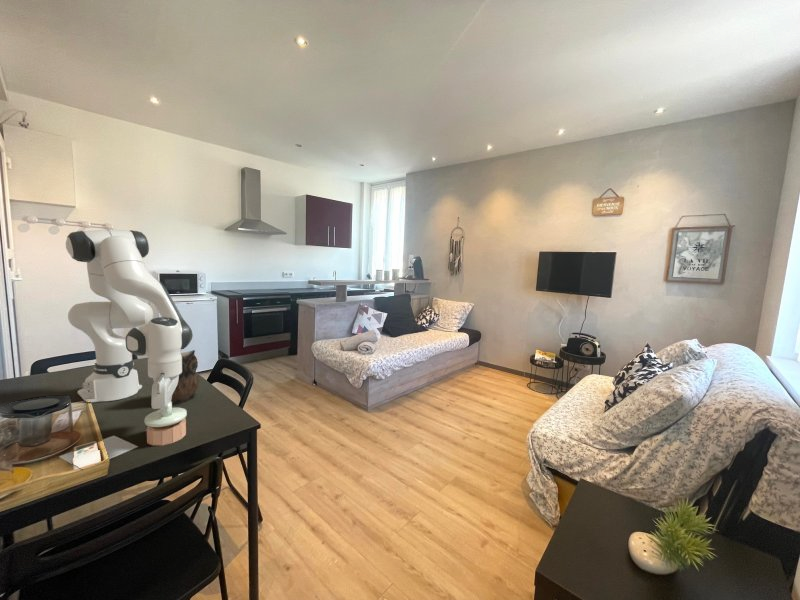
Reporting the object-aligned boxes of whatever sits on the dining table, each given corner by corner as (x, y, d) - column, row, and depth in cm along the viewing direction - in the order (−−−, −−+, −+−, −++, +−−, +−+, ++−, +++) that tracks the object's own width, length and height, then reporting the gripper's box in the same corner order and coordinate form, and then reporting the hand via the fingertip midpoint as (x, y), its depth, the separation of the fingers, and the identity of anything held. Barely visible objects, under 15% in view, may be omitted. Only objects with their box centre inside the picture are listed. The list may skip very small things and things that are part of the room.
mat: (58, 457, 92) (58, 456, 91) (113, 436, 103) (113, 435, 103) (83, 471, 87) (83, 470, 86) (138, 447, 98) (138, 446, 98)
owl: (200, 392, 140) (199, 348, 138) (193, 405, 128) (193, 356, 126) (165, 395, 135) (164, 349, 133) (155, 408, 123) (154, 358, 121)
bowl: (139, 440, 102) (139, 426, 101) (173, 426, 111) (172, 413, 111) (159, 449, 98) (159, 434, 98) (192, 434, 107) (192, 420, 107)
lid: (135, 425, 99) (134, 409, 98) (163, 409, 110) (163, 395, 109) (169, 428, 98) (169, 412, 98) (194, 412, 109) (194, 397, 109)
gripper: (170, 378, 94) (171, 423, 96) (182, 358, 112) (182, 396, 114) (144, 381, 91) (145, 427, 93) (160, 360, 110) (161, 399, 111)
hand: (166, 410), depth 104 cm, fingers closed on lid, 3 cm apart
